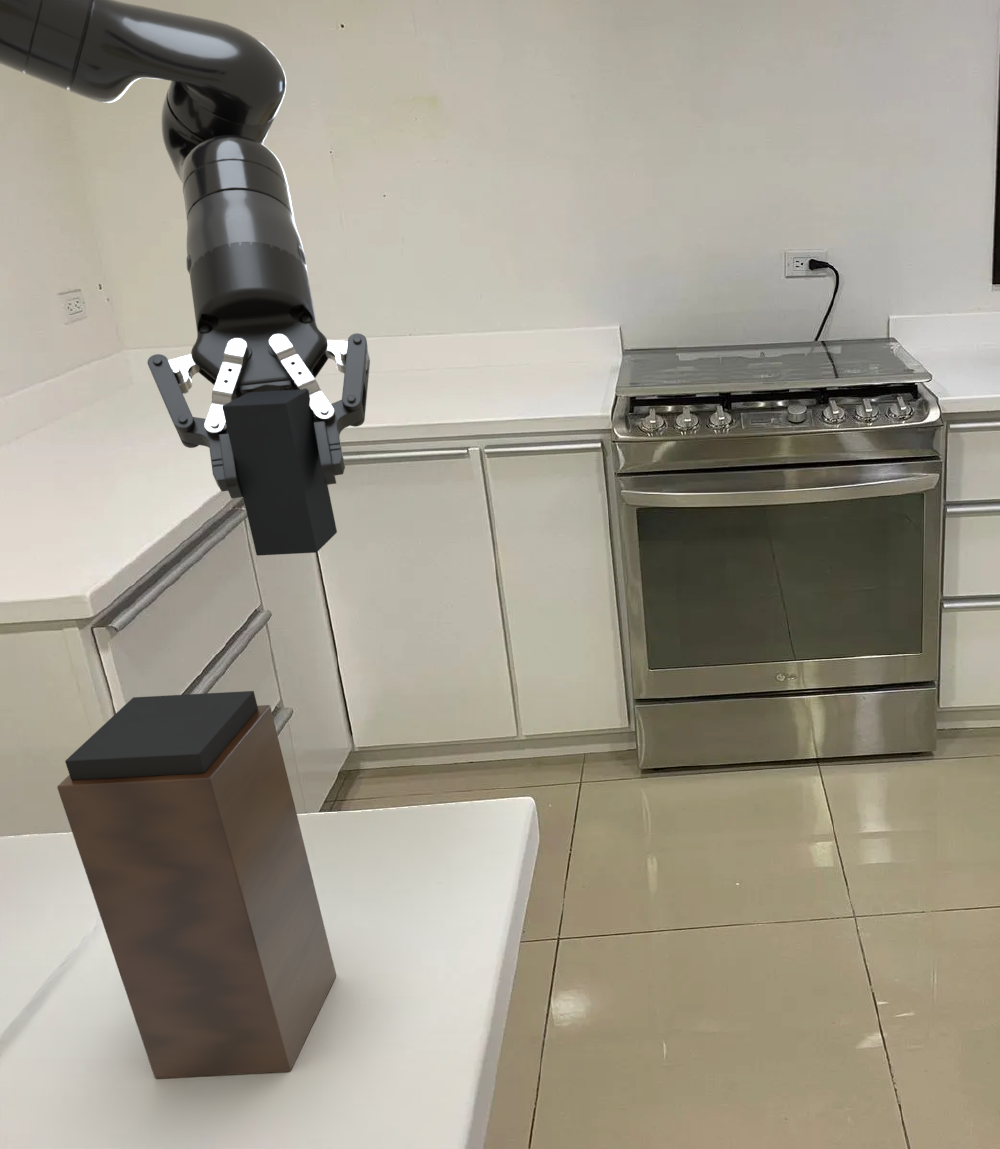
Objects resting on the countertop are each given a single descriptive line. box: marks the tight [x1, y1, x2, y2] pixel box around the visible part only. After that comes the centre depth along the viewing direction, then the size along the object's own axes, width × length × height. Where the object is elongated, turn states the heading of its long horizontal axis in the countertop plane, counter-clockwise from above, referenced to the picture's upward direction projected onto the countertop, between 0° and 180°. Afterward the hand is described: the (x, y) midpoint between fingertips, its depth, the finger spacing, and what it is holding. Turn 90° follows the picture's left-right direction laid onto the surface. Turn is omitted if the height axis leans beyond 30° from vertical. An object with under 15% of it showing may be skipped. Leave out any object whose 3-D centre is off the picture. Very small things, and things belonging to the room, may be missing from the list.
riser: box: [56, 704, 337, 1079], centre depth 65 cm, size 8×8×20 cm
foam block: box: [222, 389, 338, 556], centre depth 73 cm, size 4×4×10 cm
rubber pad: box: [64, 690, 259, 780], centre depth 61 cm, size 7×7×1 cm
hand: (282, 484), depth 72 cm, fingers closed on foam block, 5 cm apart
